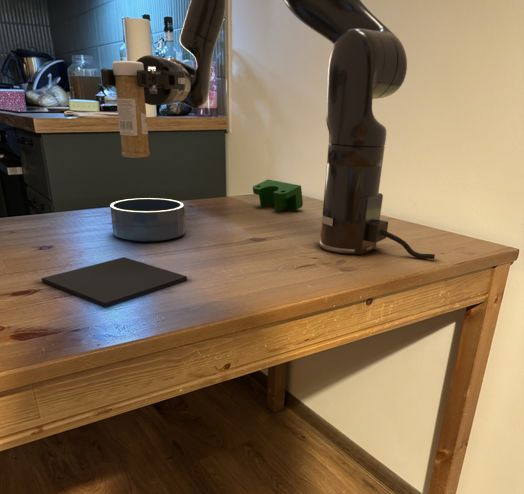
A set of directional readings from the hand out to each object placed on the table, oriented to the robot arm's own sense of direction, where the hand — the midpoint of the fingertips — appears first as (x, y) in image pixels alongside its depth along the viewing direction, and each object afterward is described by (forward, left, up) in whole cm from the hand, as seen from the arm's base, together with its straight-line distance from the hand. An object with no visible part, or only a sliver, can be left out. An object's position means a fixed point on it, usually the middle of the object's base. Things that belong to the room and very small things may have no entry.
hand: (122, 77), depth 73 cm
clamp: (+4, -46, -26) cm, 53 cm away
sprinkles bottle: (+1, -2, -11) cm, 12 cm away
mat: (-11, +13, -26) cm, 31 cm away
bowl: (+6, -8, -26) cm, 28 cm away
